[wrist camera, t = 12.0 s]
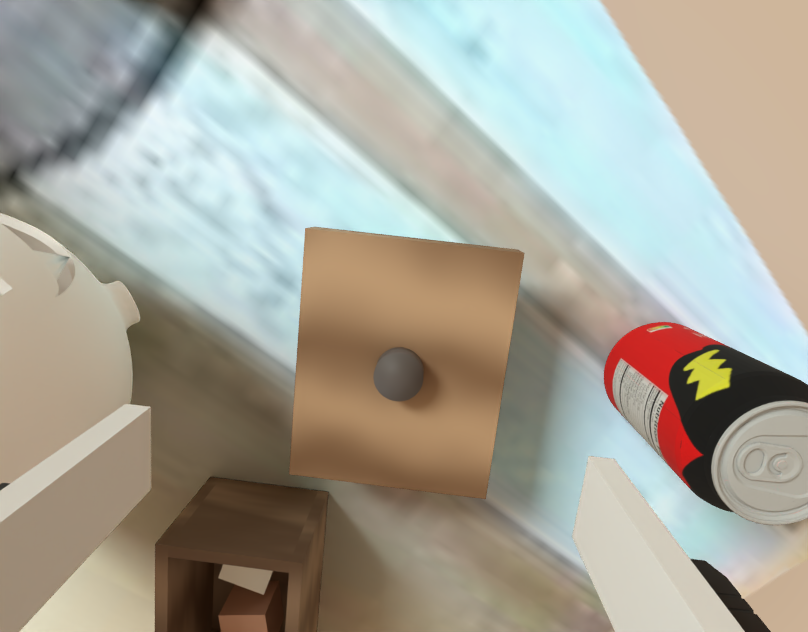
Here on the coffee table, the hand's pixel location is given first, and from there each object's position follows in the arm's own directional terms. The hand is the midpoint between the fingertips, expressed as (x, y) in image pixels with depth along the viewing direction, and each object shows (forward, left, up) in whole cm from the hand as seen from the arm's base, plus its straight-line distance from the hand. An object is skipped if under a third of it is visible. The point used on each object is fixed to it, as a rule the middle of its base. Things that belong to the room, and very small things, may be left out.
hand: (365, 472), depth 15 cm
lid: (0, 0, -13) cm, 13 cm away
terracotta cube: (-8, -20, -16) cm, 27 cm away
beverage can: (+15, 0, -17) cm, 23 cm away
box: (-8, -17, -17) cm, 25 cm away
